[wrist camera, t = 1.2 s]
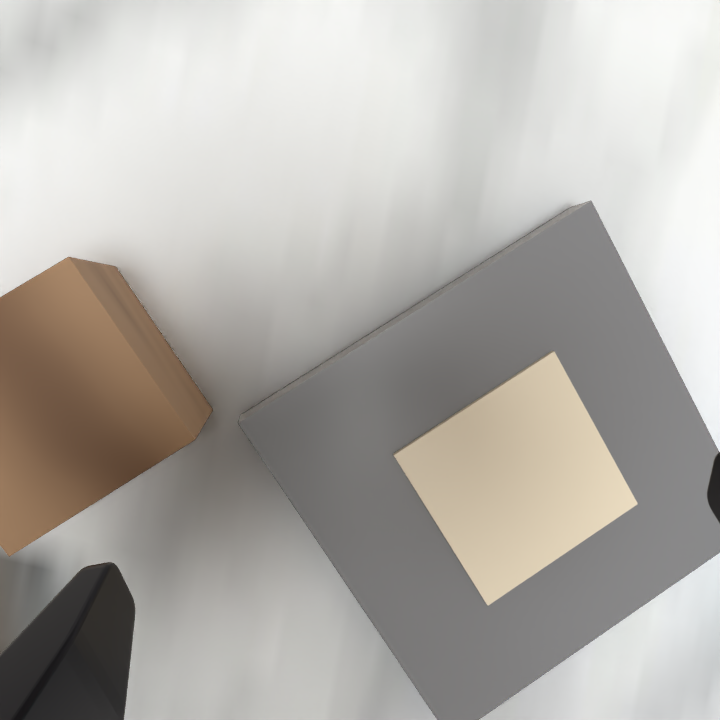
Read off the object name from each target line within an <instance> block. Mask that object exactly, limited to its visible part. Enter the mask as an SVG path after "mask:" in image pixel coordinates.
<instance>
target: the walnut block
mask: <svg viewBox="0 0 720 720" xmlns="http://www.w3.org/2000/svg"><path fill="white" fill-rule="evenodd" d="M212 411H213V409H212V408H211V406H210V405H209V403H208V402H207V400H206V399H205V397H204V396H203V394H202V393H201V391H200V390H199V389H198V387H197V386H196V384H195V383H194V381H193V380H192V378H191V377H190V375H189V374H188V372H187V371H186V369H185V368H184V366H183V365H182V363H181V362H180V361H179V359H178V358H177V356H176V355H175V353H174V352H173V350H172V349H171V347H170V346H169V344H168V343H167V341H166V340H165V338H164V337H163V335H162V334H161V333H160V331H159V330H158V328H157V327H156V325H155V324H154V322H153V321H152V319H151V318H150V316H149V315H148V313H147V312H146V310H145V309H144V307H143V306H142V305H141V303H140V302H139V300H138V299H137V297H136V296H135V294H134V293H133V291H132V290H131V288H130V287H129V285H128V284H127V282H126V281H125V279H124V278H123V277H122V275H121V274H120V272H119V271H118V269H117V268H116V267H115V266H110V265H106V264H101V263H96V262H91V261H86V260H82V259H77V258H72V257H67V258H66V259H64V260H62V261H61V262H59V263H57V264H56V265H54V266H52V267H51V268H49V269H47V270H46V271H44V272H42V273H41V274H39V275H37V276H35V277H34V278H32V279H30V280H29V281H27V282H25V283H24V284H22V285H20V286H19V287H17V288H15V289H14V290H12V291H10V292H9V293H7V294H5V295H3V296H2V297H0V546H1V547H2V548H3V549H4V551H5V552H6V553H7V555H8V556H11V555H12V554H14V553H16V552H17V551H19V550H20V549H22V548H24V547H25V546H27V545H28V544H30V543H31V542H33V541H35V540H36V539H38V538H39V537H41V536H43V535H44V534H46V533H47V532H49V531H51V530H52V529H54V528H55V527H57V526H59V525H60V524H62V523H63V522H65V521H67V520H68V519H70V518H71V517H73V516H74V515H76V514H78V513H79V512H81V511H82V510H84V509H86V508H87V507H89V506H90V505H92V504H94V503H95V502H97V501H98V500H100V499H102V498H103V497H105V496H106V495H108V494H109V493H111V492H113V491H114V490H116V489H117V488H119V487H121V486H122V485H124V484H125V483H127V482H129V481H130V480H132V479H133V478H135V477H137V476H138V475H140V474H141V473H143V472H145V471H146V470H148V469H149V468H151V467H152V466H154V465H156V464H157V463H159V462H160V461H162V460H164V459H165V458H167V457H168V456H170V455H172V454H173V453H175V452H176V451H178V450H180V449H181V448H183V447H184V446H186V445H188V444H189V443H191V442H192V441H194V440H195V439H196V437H197V436H198V434H199V432H200V431H201V429H202V427H203V426H204V424H205V422H206V421H207V419H208V417H209V416H210V414H211V412H212Z"/></svg>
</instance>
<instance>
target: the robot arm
mask: <svg viewBox="0 0 720 720" xmlns="http://www.w3.org/2000/svg"><path fill="white" fill-rule="evenodd" d="M707 500H708V503H709V506H710V508H711V510H712V512H713V514H714V515H715V517H716V518H717V520H718V522H719V523H720V452H719V453H718V454H717V455H716V456H715V458H714V461H713V466H712V471H711V475H710V480H709V484H708V489H707ZM134 622H135V604H134V600H133V597H132V595H131V593H130V591H129V589H128V587H127V585H126V583H125V581H124V579H123V576H122V574H121V572H120V570H119V569H118V567H117V566H116V565H115V564H114V563H110V562H107V563H102V564H96V565H91V566H87V567H84V568H83V569H81V570H80V571H79V572H78V573H77V574H76V575H75V576H74V577H73V579H72V580H71V581H70V582H69V583H68V584H67V585H66V586H65V587H64V588H63V589H62V590H61V591H60V592H59V593H58V594H57V595H56V597H55V598H54V599H53V600H52V601H51V602H50V603H49V604H48V605H47V606H46V607H45V608H44V609H43V610H42V611H41V612H40V613H39V615H38V616H37V617H36V618H35V619H34V620H33V621H32V622H31V623H30V624H29V625H28V626H27V627H26V628H25V629H24V630H23V631H22V633H21V634H20V635H19V636H18V637H17V638H16V639H15V640H14V641H13V642H12V643H11V644H10V645H9V646H8V647H7V648H6V650H5V651H4V652H3V653H2V654H1V655H0V720H124V714H125V706H126V697H127V688H128V678H129V669H130V659H131V650H132V640H133V631H134Z"/></svg>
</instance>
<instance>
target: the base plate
mask: <svg viewBox="0 0 720 720" xmlns="http://www.w3.org/2000/svg"><path fill="white" fill-rule="evenodd" d="M238 424H239V426H240V427H241V429H242V430H243V432H244V433H245V435H246V436H247V438H248V439H249V441H250V442H251V444H252V445H253V447H254V448H255V449H256V451H257V452H258V454H259V455H260V457H261V458H262V460H263V461H264V463H265V464H266V466H267V467H268V469H269V470H270V472H271V473H272V475H273V476H274V478H275V479H276V481H277V482H278V484H279V485H280V487H281V488H282V490H283V491H284V493H285V494H286V496H287V497H288V499H289V500H290V501H291V503H292V504H293V506H294V507H295V509H296V510H297V512H298V513H299V515H300V516H301V518H302V519H303V521H304V522H305V524H306V525H307V527H308V528H309V530H310V531H311V533H312V534H313V536H314V537H315V539H316V540H317V542H318V543H319V545H320V546H321V548H322V549H323V550H324V552H325V553H326V555H327V556H328V558H329V559H330V561H331V562H332V564H333V565H334V567H335V568H336V570H337V571H338V573H339V574H340V576H341V577H342V579H343V580H344V582H345V583H346V585H347V586H348V588H349V589H350V591H351V592H352V594H353V595H354V597H355V598H356V600H357V601H358V602H359V604H360V605H361V607H362V608H363V610H364V611H365V613H366V614H367V616H368V617H369V619H370V620H371V622H372V623H373V625H374V626H375V628H376V629H377V631H378V632H379V634H380V635H381V637H382V638H383V640H384V641H385V643H386V644H387V646H388V647H389V649H390V650H391V652H392V653H393V654H394V656H395V657H396V659H397V660H398V662H399V663H400V665H401V666H402V668H403V669H404V671H405V672H406V674H407V675H408V677H409V678H410V680H411V681H412V683H413V684H414V686H415V687H416V689H417V690H418V692H419V693H420V695H421V696H422V698H423V699H424V701H425V702H426V704H427V705H428V706H429V708H430V709H431V711H432V712H433V714H434V715H435V717H436V718H437V720H479V719H480V718H482V717H483V716H485V715H486V714H488V713H489V712H491V711H492V710H493V709H495V708H496V707H498V706H499V705H501V704H502V703H504V702H505V701H506V700H508V699H509V698H511V697H512V696H514V695H515V694H516V693H518V692H519V691H521V690H522V689H524V688H525V687H527V686H528V685H529V684H531V683H532V682H534V681H535V680H537V679H538V678H540V677H541V676H542V675H544V674H545V673H547V672H548V671H550V670H551V669H553V668H554V667H555V666H557V665H558V664H560V663H561V662H563V661H564V660H565V659H567V658H568V657H570V656H571V655H573V654H574V653H576V652H577V651H578V650H580V649H581V648H583V647H584V646H586V645H587V644H589V643H590V642H591V641H593V640H594V639H596V638H597V637H599V636H600V635H602V634H603V633H604V632H606V631H607V630H609V629H610V628H612V627H613V626H615V625H616V624H617V623H619V622H620V621H622V620H623V619H625V618H626V617H627V616H629V615H630V614H632V613H633V612H635V611H636V610H638V609H639V608H640V607H642V606H643V605H645V604H646V603H648V602H649V601H651V600H652V599H653V598H655V597H656V596H658V595H659V594H661V593H662V592H664V591H665V590H666V589H668V588H669V587H671V586H672V585H674V584H675V583H676V582H678V581H679V580H681V579H682V578H684V577H685V576H687V575H688V574H689V573H691V572H692V571H694V570H695V569H697V568H698V567H700V566H701V565H702V564H704V563H705V562H707V561H708V560H710V559H711V558H713V557H714V556H715V555H717V554H718V553H720V523H719V522H718V520H717V518H716V517H715V515H714V514H713V512H712V510H711V508H710V506H709V503H708V500H707V489H708V484H709V480H710V475H711V471H712V466H713V461H714V458H715V456H716V455H717V454H718V453H719V451H718V449H717V447H716V445H715V443H714V441H713V439H712V437H711V435H710V433H709V431H708V429H707V427H706V425H705V423H704V421H703V419H702V417H701V415H700V413H699V411H698V410H697V408H696V406H695V404H694V402H693V400H692V398H691V396H690V394H689V392H688V390H687V388H686V386H685V384H684V382H683V380H682V378H681V376H680V374H679V372H678V370H677V368H676V366H675V364H674V362H673V360H672V358H671V356H670V354H669V352H668V351H667V349H666V347H665V345H664V343H663V341H662V339H661V337H660V335H659V333H658V331H657V329H656V327H655V325H654V323H653V321H652V319H651V317H650V315H649V313H648V311H647V309H646V307H645V305H644V303H643V301H642V299H641V297H640V295H639V293H638V292H637V290H636V288H635V286H634V284H633V282H632V280H631V278H630V276H629V274H628V272H627V270H626V268H625V266H624V264H623V262H622V260H621V258H620V256H619V254H618V252H617V250H616V248H615V246H614V244H613V242H612V240H611V238H610V236H609V235H608V233H607V231H606V229H605V227H604V225H603V223H602V221H601V219H600V217H599V215H598V213H597V211H596V209H595V207H594V205H593V203H592V201H588V202H585V203H582V204H579V205H576V206H572V207H570V208H569V209H567V210H566V211H564V212H562V213H561V214H559V215H558V216H556V217H555V218H553V219H551V220H550V221H548V222H547V223H545V224H543V225H542V226H540V227H539V228H537V229H535V230H534V231H532V232H531V233H529V234H527V235H526V236H524V237H523V238H521V239H520V240H518V241H516V242H515V243H513V244H512V245H510V246H508V247H507V248H505V249H504V250H502V251H500V252H499V253H497V254H496V255H494V256H493V257H491V258H489V259H488V260H486V261H485V262H483V263H481V264H480V265H478V266H477V267H475V268H473V269H472V270H470V271H469V272H467V273H465V274H464V275H462V276H461V277H459V278H458V279H456V280H454V281H453V282H451V283H450V284H448V285H446V286H445V287H443V288H442V289H440V290H438V291H437V292H435V293H434V294H432V295H431V296H429V297H427V298H426V299H424V300H423V301H421V302H419V303H418V304H416V305H415V306H413V307H411V308H410V309H408V310H407V311H405V312H403V313H402V314H400V315H399V316H397V317H396V318H394V319H392V320H391V321H389V322H388V323H386V324H384V325H383V326H381V327H380V328H378V329H376V330H375V331H373V332H372V333H370V334H369V335H367V336H365V337H364V338H362V339H361V340H359V341H357V342H356V343H354V344H353V345H351V346H349V347H348V348H346V349H345V350H343V351H342V352H340V353H338V354H337V355H335V356H334V357H332V358H330V359H329V360H327V361H326V362H324V363H322V364H321V365H319V366H318V367H316V368H314V369H313V370H311V371H310V372H308V373H307V374H305V375H303V376H302V377H300V378H299V379H297V380H295V381H294V382H292V383H291V384H289V385H287V386H286V387H284V388H283V389H281V390H280V391H278V392H276V393H275V394H273V395H272V396H270V397H268V398H267V399H265V400H264V401H262V402H260V403H259V404H257V405H256V406H254V407H252V408H251V409H249V410H248V411H246V412H245V413H243V414H241V415H240V418H239V421H238Z"/></svg>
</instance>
